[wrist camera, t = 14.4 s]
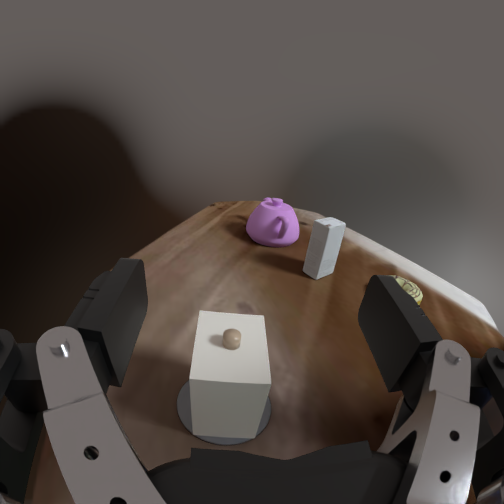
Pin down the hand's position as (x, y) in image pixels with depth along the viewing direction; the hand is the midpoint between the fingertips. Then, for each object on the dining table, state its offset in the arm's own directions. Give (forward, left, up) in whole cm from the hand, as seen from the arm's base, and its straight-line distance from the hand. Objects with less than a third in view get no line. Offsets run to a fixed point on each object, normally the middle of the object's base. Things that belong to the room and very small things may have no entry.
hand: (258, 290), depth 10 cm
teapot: (-54, -32, -25) cm, 68 cm away
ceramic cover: (-8, -7, -24) cm, 26 cm away
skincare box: (-46, -14, -25) cm, 54 cm away
